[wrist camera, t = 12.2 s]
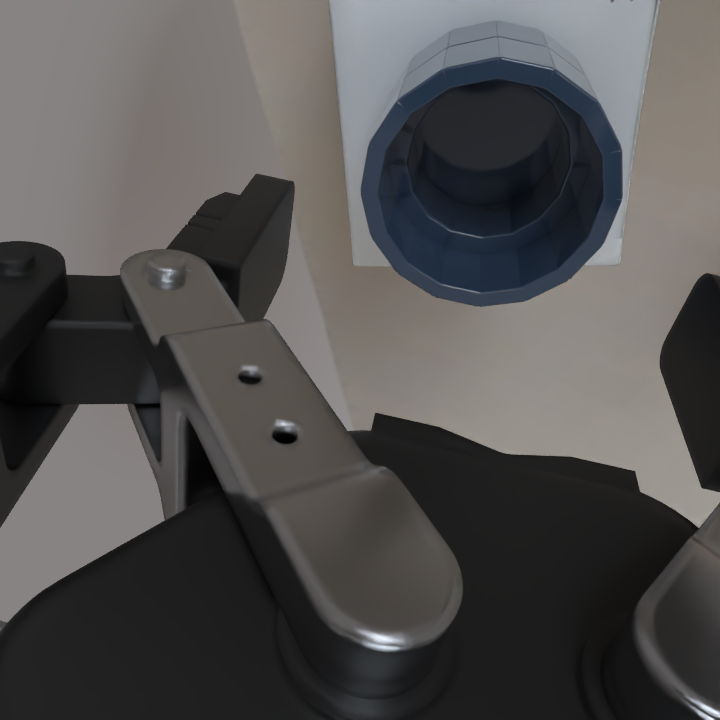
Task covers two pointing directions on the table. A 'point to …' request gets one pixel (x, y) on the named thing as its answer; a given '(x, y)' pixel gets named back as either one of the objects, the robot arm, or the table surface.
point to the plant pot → (491, 167)
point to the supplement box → (470, 7)
